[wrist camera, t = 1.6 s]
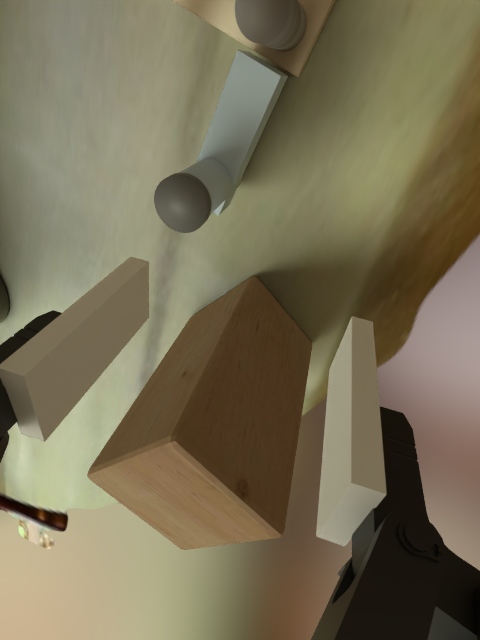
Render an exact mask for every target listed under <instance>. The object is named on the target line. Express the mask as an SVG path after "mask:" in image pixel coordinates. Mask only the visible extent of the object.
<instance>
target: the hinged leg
mask: <svg viewBox="0 0 480 640" xmlns="http://www.w3.org/2000/svg"><path fill="white" fill-rule="evenodd" d="M287 78H288V76H287V75H286V74H284V73H282V72H281V71H279V70H277V69H276V68H274V67H273V66H271V65H269V64H268V63H266V62H264V61H263V60H261V59H259V58H258V57H256V56H255V55H253V54H251V53H250V52H246V51H241V50H237V52H236V55H235V58H234V61H233V63H232V66H231V69H230V72H229V74H228V77H227V80H226V83H225V85H224V88H223V91H222V94H221V96H220V99H219V102H218V105H217V107H216V110H215V113H214V116H213V118H212V121H211V124H210V127H209V129H208V132H207V135H206V138H205V140H204V143H203V146H202V149H201V151H200V154H199V157H198V160H197V162H196V163H195V164H194V165H192V166H190V167H188V168H187V169H185V170H183V171H181V172H180V173H175V174H173V175H171V176H169V177H167V178H165V179H164V180H162V181H161V182H160V183H159V185H158V186H157V188H156V191H155V196H154V203H155V208H156V211H157V213H158V215H159V217H160V218H161V220H162V221H163V222H164V223H165V224H166V225H167V226H168V227H170V228H171V229H173V230H175V231H178V232H182V233H189V232H193V231H195V230H197V229H198V228H200V227H201V226H202V225H203V224H204V223H205V222H206V220H207V219H208V217H209V215H210V214H211V213H212V212H213V213H215V214H216V215H218V216H219V215H220V214H221V213H222V212H223V211H224V210H225V209H226V207H227V206H228V205H229V204H230V202H231V200H232V198H233V196H234V193H235V191H236V189H237V188H238V187H239V185H240V183H241V181H242V176H243V174H244V172H245V169H246V167H247V165H248V163H249V161H250V158H251V156H252V154H253V152H254V150H255V148H256V145H257V143H258V141H259V139H260V137H261V134H262V132H263V130H264V128H265V126H266V124H267V121H268V119H269V117H270V115H271V113H272V110H273V108H274V106H275V104H276V102H277V100H278V97H279V95H280V93H281V91H282V89H283V86H284V84H285V82H286V80H287Z"/></svg>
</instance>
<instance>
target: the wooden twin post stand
mask: <svg viewBox="0 0 480 640" xmlns="http://www.w3.org/2000/svg"><path fill="white" fill-rule="evenodd" d="M172 1H174V2H176V3H177V4H179V5H180V6H182V7H184V8H185V9H187V10H189V11H190V12H192V13H194V14H195V15H197V16H198V17H200V18H202V19H203V20H205V21H207V22H208V23H210V24H212V25H213V26H215V27H216V28H218V29H220V30H221V31H223V32H225V33H226V34H228V35H229V36H231V37H233V38H234V39H236V40H238V41H239V42H241V43H243V44H244V45H246V46H247V47H249V48H251V49H252V50H254V51H256V52H257V53H259V54H260V55H262V56H264V57H265V58H267V59H269V60H270V61H272V62H274V63H275V64H277V65H278V66H280V67H282V68H283V69H285V70H287V71H288V72H290V73H292V74H293V75H295V76H296V77H300V74H301V72H302V70H303V68H304V66H305V64H306V62H307V60H308V58H309V56H310V53H311V51H312V49H313V47H314V45H315V43H316V41H317V39H318V37H319V35H320V32H321V30H322V28H323V26H324V24H325V22H326V20H327V18H328V16H329V14H330V11H331V9H332V7H333V5H334V3H335V1H336V0H172Z"/></svg>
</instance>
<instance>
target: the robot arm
mask: <svg viewBox="0 0 480 640" xmlns="http://www.w3.org/2000/svg"><path fill="white" fill-rule="evenodd" d="M8 310H9V299H8V295H7V291H6V288H5V286H4V284H3V281H2V280H1V278H0V322H2V321H3V320H4V319H5V318H6V316H7V314H8ZM148 318H149V262H148V261H144V260H141V259H137V258H133V257H130V258H129V259H127V260H126V261H125V262H124V263H123V264H121V265H120V266H119V267H118V268H117V269H115V270H114V271H113V272H112V273H110V274H109V275H108V276H107V277H106V278H104V279H103V280H102V281H101V282H100V283H98V284H97V285H96V286H95V287H93V288H92V289H91V290H90V291H89V292H87V293H86V294H85V295H84V296H83V297H81V298H80V299H79V300H78V301H76V302H75V303H74V304H73V305H72V306H70V307H69V308H68V309H67V310H66V311H64V312H63V313H60V312H57V311H50V312H48V313H46V314H43V315H41V316H38V317H36V318H35V319H34V320H32V321H31V322H30V323H28V324H27V325H26V326H25V327H24V329H21V330H19V331H18V332H17V333H15V334H14V336H13V337H10V338H9V339H8V340H6V341H5V342H4V343H2V344H1V345H0V462H1V460H2V457H3V455H4V452H5V450H6V448H7V445H8V442H9V434H8V432H7V431H8V430H9V429H10V428H11V427H12V426H13V425H14V424H15V423H16V422H17V424H18V426H19V429H20V431H21V434H23V435H26V436H29V437H32V438H35V439H38V440H41V441H43V442H45V441H46V440H47V438H48V437H49V436H50V435H51V434H52V432H53V431H54V430H55V429H56V428H57V426H58V425H59V424H60V423H61V422H62V421H63V419H64V418H65V417H66V416H67V415H68V413H69V412H70V411H71V410H72V409H73V407H74V406H75V405H76V404H77V403H78V401H79V400H80V399H81V398H82V397H83V395H84V394H85V393H86V392H87V391H88V390H89V388H90V387H91V386H92V385H93V384H94V382H95V381H96V380H97V379H98V378H99V376H100V375H101V374H102V373H103V372H104V370H105V369H106V368H107V367H108V366H109V364H110V363H111V362H112V361H113V360H114V358H115V357H116V356H117V355H118V354H119V353H120V351H121V350H122V349H123V348H124V347H125V345H126V344H127V343H128V342H129V341H130V339H131V338H132V337H133V336H134V335H135V333H136V332H137V331H138V330H139V329H140V327H141V326H142V325H143V324H144V323H145V322H146V320H147V319H148ZM316 536H317V537H320V538H322V539H326V540H328V541H331V542H334V543H337V544H340V545H343V546H346V544H347V543H348V542H349V541H350V539H351V538H352V557H351V559H350V560H349V561H348V562H347V563H346V564H345V565H344V566H343V568H342V569H341V570H340V571H339V573H338V575H339V576H340V579H339V581H338V583H337V585H336V588H335V590H334V592H333V594H332V596H331V598H330V600H329V602H328V604H327V607H326V609H325V611H324V613H323V615H322V617H321V619H320V621H319V624H318V626H317V628H316V630H315V632H314V635H313V636H312V639H311V640H480V571H479V570H478V569H476V568H475V567H473V566H472V565H470V564H469V563H467V562H466V561H464V560H463V559H461V558H460V557H458V556H457V555H455V554H454V553H453V552H452V551H451V550H449V549H448V548H447V547H446V546H445V545H444V543H443V539H442V537H441V536H440V534H439V533H438V531H437V530H436V528H435V527H434V526H433V525H432V524H431V523H430V522H429V520H428V516H427V512H426V507H425V501H424V494H423V489H422V483H421V476H420V471H419V465H418V462H417V453H416V449H415V441H414V436H413V429H412V428H411V426H410V424H409V422H408V421H407V419H406V417H405V415H404V414H403V413H401V412H397V411H394V410H390V409H387V408H384V407H380V405H379V393H378V380H377V368H376V355H375V343H374V330H373V322H372V321H368V320H364V319H361V318H357V317H353V316H352V317H351V320H350V322H349V324H348V327H347V329H346V331H345V334H344V336H343V338H342V341H341V343H340V346H339V348H338V350H337V353H336V355H335V357H334V360H333V362H332V364H331V367H330V369H329V382H328V394H327V407H326V420H325V433H324V444H323V457H322V470H321V483H320V495H319V507H318V520H317V532H316Z"/></svg>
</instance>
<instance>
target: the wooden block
mask: <svg viewBox="0 0 480 640" xmlns="http://www.w3.org/2000/svg"><path fill="white" fill-rule="evenodd" d="M311 349H312V343H311V341H310V340H309V339H308V338H307V337H306V335H305V334H304V333H303V332H302V331H301V329H300V328H299V327H298V326H297V325H296V323H295V322H294V321H293V320H292V319H291V317H290V316H289V315H288V314H287V313H286V311H285V310H284V309H283V308H282V307H281V305H280V304H279V303H278V302H277V301H276V299H275V298H274V297H273V296H272V295H271V293H270V292H269V291H268V290H267V289H266V287H265V286H264V285H263V284H262V283H261V281H260V280H259V279H258V278H257V277H256V276H253V277H250V278H249V279H247V280H246V281H244V282H243V283H241V284H240V285H238V286H237V287H235V288H234V289H232V290H231V291H229V292H228V293H226V294H225V295H223V296H222V297H220V298H219V299H217V300H216V301H215V302H213V303H212V304H210V305H209V306H207V307H206V308H204V309H203V310H201V311H200V312H198V313H197V314H195V315H194V316H192V317H191V318H190V319H189V321H188V322H187V324H186V325H185V327H184V328H183V330H182V331H181V333H180V334H179V336H178V337H177V339H176V340H175V342H174V343H173V345H172V346H171V348H170V349H169V351H168V352H167V354H166V355H165V357H164V358H163V360H162V361H161V363H160V364H159V366H158V367H157V369H156V370H155V372H154V373H153V375H152V376H151V378H150V379H149V381H148V382H147V384H146V385H145V387H144V388H143V390H142V391H141V393H140V394H139V396H138V397H137V399H136V400H135V402H134V403H133V405H132V406H131V408H130V409H129V411H128V412H127V414H126V415H125V417H124V418H123V420H122V421H121V423H120V424H119V426H118V427H117V429H116V430H115V432H114V433H113V434H112V436H111V437H110V439H109V440H108V442H107V443H106V445H105V446H104V448H103V449H102V451H101V452H100V454H99V455H98V457H97V458H96V460H95V461H94V463H93V464H92V466H91V467H90V469H89V471H88V474H87V476H88V478H89V479H90V480H91V481H93V482H94V483H95V484H96V485H98V486H99V487H100V488H102V489H103V490H104V491H106V492H107V493H108V494H110V495H111V496H112V497H114V498H115V499H116V500H117V501H119V502H120V503H121V504H123V505H124V506H125V507H127V508H128V509H129V510H131V511H132V512H133V513H135V514H136V515H137V516H139V517H140V518H141V519H142V520H144V521H145V522H146V523H148V524H149V525H150V526H152V527H153V528H154V529H156V530H157V531H158V532H160V533H161V534H162V535H163V536H165V537H166V538H167V539H169V540H170V541H171V542H173V543H174V544H175V545H177V546H178V547H179V548H181V549H184V550H187V549H195V548H202V547H210V546H218V545H226V544H233V543H241V542H248V541H256V540H264V539H272V538H279V537H280V536H281V535H282V534H283V532H284V528H285V522H286V515H287V508H288V502H289V494H290V489H291V482H292V475H293V469H294V462H295V455H296V449H297V442H298V436H299V429H300V422H301V416H302V409H303V402H304V396H305V389H306V383H307V376H308V369H309V363H310V356H311Z"/></svg>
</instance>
